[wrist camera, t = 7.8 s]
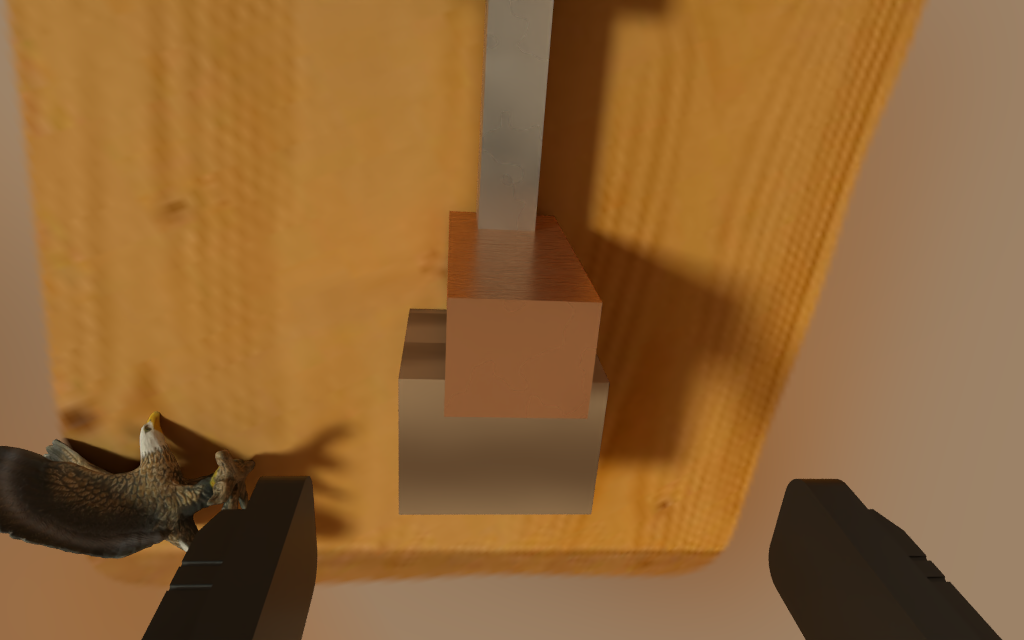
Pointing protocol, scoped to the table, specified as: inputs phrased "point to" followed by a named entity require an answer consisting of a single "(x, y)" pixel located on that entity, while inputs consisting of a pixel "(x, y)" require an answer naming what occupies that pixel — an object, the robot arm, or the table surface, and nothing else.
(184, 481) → the eagle figurine
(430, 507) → the socket block
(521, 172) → the bar
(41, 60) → the table surface
